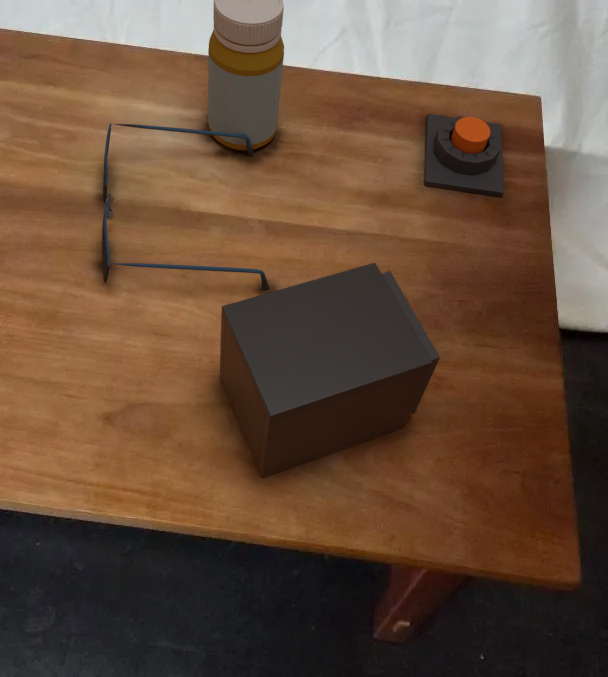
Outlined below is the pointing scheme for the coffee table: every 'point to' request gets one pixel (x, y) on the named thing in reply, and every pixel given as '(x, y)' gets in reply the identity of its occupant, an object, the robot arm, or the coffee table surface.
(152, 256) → the coffee table surface
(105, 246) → the sunglasses
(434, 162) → the block
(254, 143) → the bottle
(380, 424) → the dark grey drawer box
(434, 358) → the pulled-out drawer
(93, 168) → the coffee table surface
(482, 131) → the button
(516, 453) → the coffee table surface
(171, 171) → the coffee table surface
